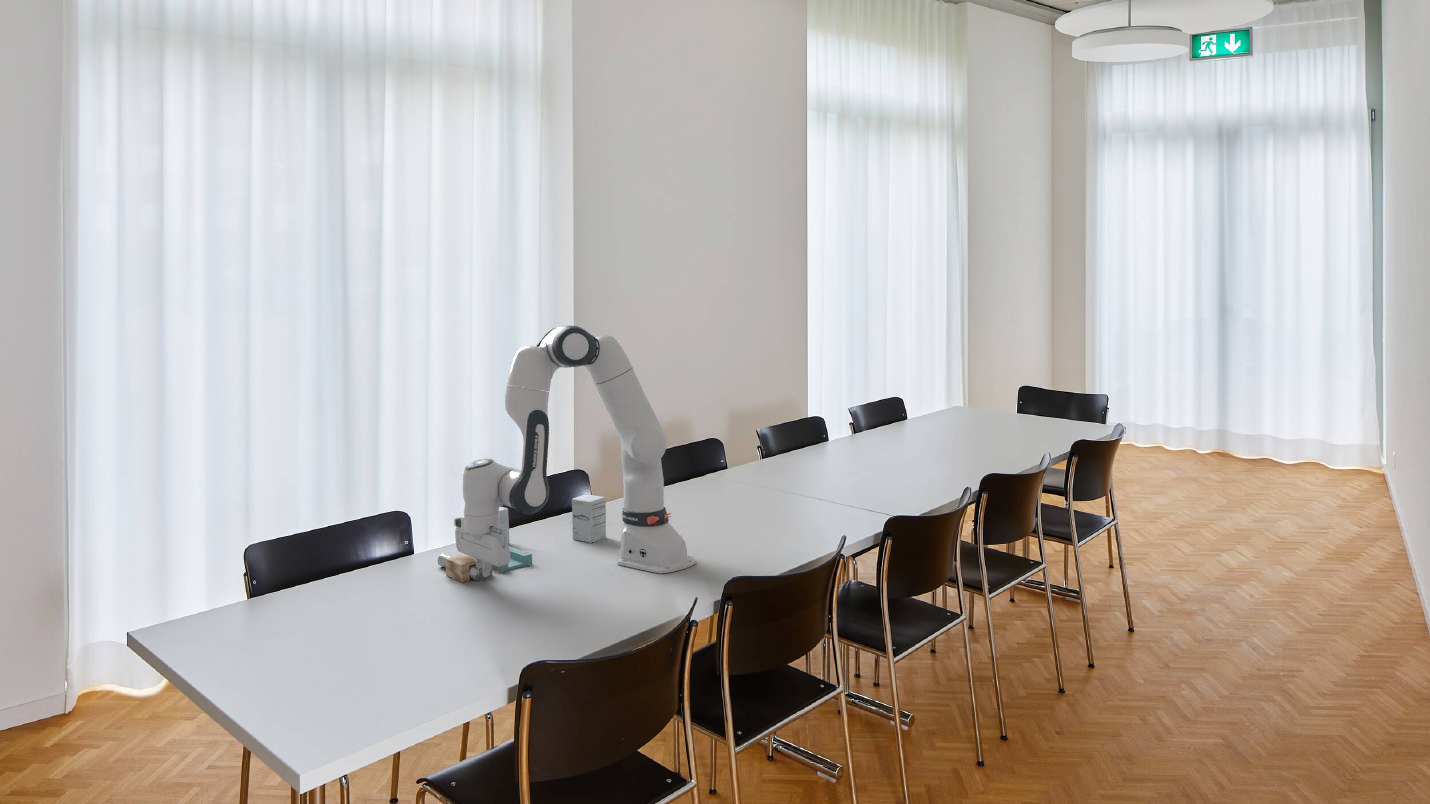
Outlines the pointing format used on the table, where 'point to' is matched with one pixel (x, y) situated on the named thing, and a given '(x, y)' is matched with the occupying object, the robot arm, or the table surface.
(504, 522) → the small box
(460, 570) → the wooden bridge block
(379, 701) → the table surface
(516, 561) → the cradle
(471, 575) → the axle
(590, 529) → the supplement box
